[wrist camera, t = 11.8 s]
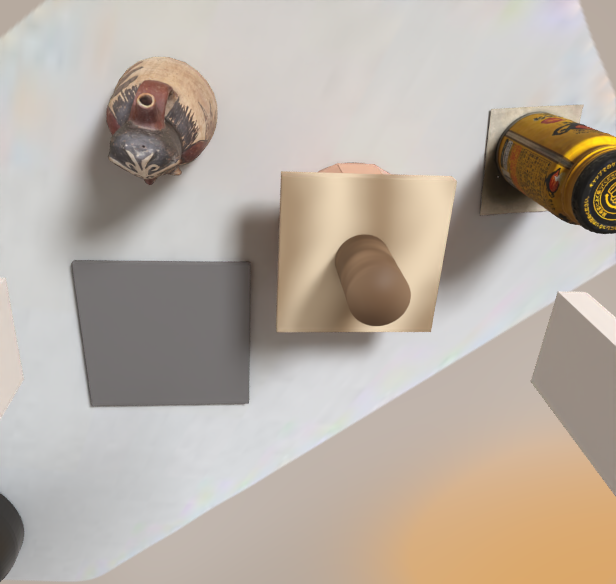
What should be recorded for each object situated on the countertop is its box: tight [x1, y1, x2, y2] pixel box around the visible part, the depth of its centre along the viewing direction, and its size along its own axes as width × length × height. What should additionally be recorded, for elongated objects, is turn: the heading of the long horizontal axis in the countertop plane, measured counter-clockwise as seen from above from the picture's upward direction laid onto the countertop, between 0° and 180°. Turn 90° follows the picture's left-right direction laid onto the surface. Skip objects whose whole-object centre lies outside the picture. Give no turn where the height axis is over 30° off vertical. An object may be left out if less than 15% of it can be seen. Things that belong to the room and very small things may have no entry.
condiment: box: [480, 105, 616, 234], centre depth 41 cm, size 7×8×12 cm
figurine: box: [107, 57, 217, 185], centre depth 36 cm, size 7×7×12 cm
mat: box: [72, 260, 250, 406], centre depth 50 cm, size 14×14×1 cm
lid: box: [276, 172, 457, 332], centre depth 39 cm, size 12×12×7 cm
